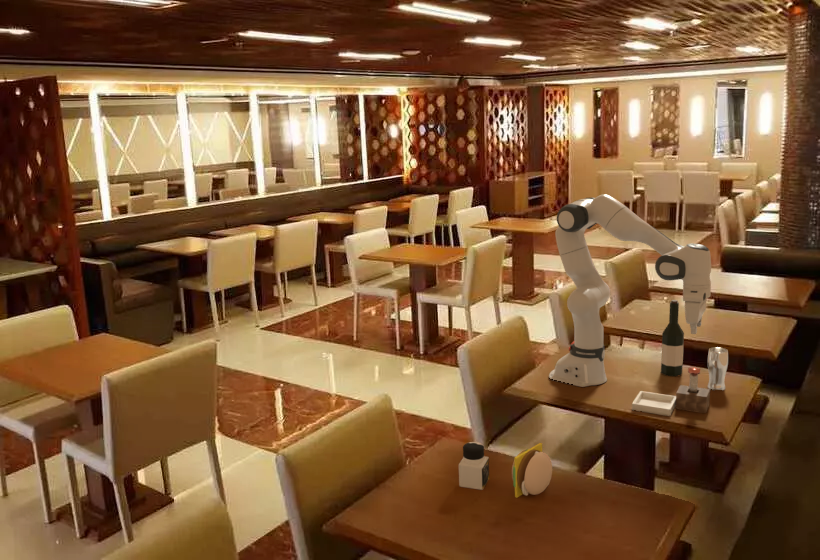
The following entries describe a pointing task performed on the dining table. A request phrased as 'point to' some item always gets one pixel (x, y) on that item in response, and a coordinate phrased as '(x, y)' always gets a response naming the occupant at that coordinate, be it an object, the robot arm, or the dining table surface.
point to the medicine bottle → (473, 467)
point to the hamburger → (531, 471)
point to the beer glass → (717, 367)
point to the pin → (693, 379)
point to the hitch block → (692, 399)
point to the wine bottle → (672, 344)
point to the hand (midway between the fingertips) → (696, 329)
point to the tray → (654, 403)
